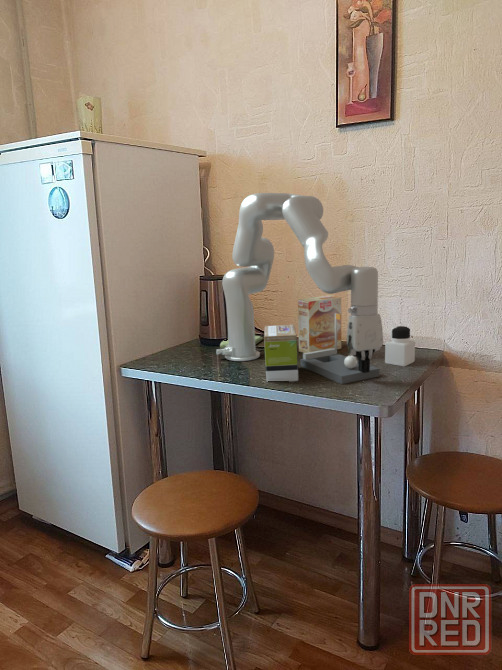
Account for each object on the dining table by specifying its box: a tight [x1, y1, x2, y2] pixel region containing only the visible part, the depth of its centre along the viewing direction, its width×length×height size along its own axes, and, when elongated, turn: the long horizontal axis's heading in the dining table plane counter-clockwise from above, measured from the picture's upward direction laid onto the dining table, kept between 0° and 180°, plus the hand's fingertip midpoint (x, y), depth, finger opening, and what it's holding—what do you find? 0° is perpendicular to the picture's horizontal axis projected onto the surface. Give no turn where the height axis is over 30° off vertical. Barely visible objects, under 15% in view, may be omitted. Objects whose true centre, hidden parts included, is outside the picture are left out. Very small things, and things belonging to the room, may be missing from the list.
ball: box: [344, 355, 358, 369], centre depth 160 cm, size 4×4×4 cm
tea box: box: [263, 324, 299, 383], centre depth 164 cm, size 15×10×15 cm
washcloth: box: [219, 335, 264, 349], centre depth 208 cm, size 13×18×3 cm
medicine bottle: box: [384, 325, 416, 367], centre depth 172 cm, size 7×7×12 cm
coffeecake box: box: [297, 294, 342, 354], centre depth 192 cm, size 15×7×20 cm, turn 120°
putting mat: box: [300, 313, 381, 385], centre depth 165 cm, size 14×23×16 cm, turn 26°
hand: (364, 371), depth 155 cm, fingers closed
